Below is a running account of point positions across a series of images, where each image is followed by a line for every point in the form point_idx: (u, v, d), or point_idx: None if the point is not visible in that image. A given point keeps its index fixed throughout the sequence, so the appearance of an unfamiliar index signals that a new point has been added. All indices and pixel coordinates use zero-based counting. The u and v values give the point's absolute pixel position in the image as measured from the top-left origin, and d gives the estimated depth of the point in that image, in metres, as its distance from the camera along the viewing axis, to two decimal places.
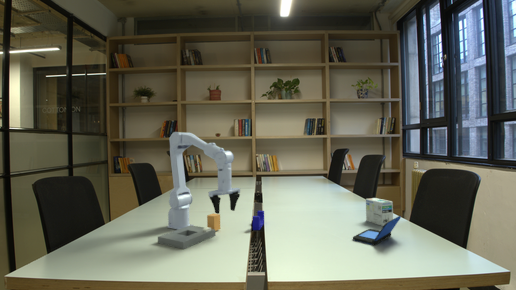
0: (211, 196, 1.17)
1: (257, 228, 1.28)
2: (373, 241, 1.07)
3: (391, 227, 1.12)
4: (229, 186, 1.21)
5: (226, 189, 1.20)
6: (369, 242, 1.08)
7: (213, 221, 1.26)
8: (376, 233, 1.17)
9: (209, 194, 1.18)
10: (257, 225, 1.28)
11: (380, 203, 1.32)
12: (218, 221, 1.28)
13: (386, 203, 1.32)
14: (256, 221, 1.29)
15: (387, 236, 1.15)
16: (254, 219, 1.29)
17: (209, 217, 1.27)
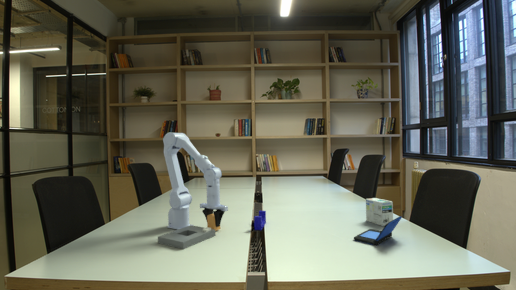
0: (200, 207, 1.31)
1: (259, 228, 1.28)
2: (374, 241, 1.07)
3: (392, 227, 1.12)
4: (210, 202, 1.26)
5: (207, 204, 1.27)
6: (370, 242, 1.08)
7: (213, 221, 1.26)
8: (377, 233, 1.16)
9: None
10: (259, 225, 1.28)
11: (380, 203, 1.32)
12: None
13: (386, 203, 1.32)
14: (258, 221, 1.28)
15: (388, 236, 1.15)
16: (256, 219, 1.29)
17: (209, 217, 1.27)
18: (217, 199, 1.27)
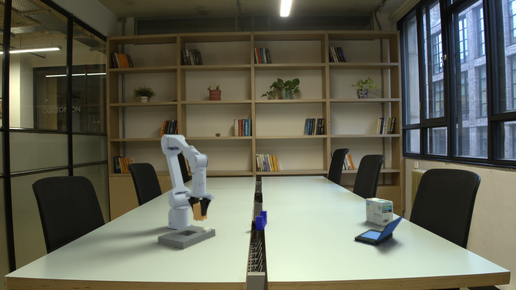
0: (185, 196, 1.25)
1: (260, 228, 1.28)
2: (375, 241, 1.06)
3: (393, 227, 1.12)
4: (195, 190, 1.20)
5: (193, 192, 1.21)
6: (371, 242, 1.08)
7: (199, 211, 1.20)
8: (378, 233, 1.16)
9: None
10: (260, 225, 1.28)
11: (380, 203, 1.32)
12: None
13: (386, 203, 1.32)
14: (259, 221, 1.28)
15: (389, 236, 1.14)
16: (257, 219, 1.29)
17: (195, 206, 1.22)
18: (203, 187, 1.21)
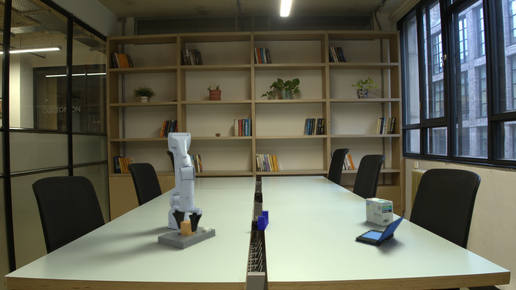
0: (173, 210, 1.21)
1: (262, 228, 1.28)
2: (376, 242, 1.06)
3: (394, 228, 1.12)
4: (182, 204, 1.15)
5: (180, 207, 1.16)
6: (372, 243, 1.07)
7: (186, 229, 1.16)
8: (379, 234, 1.16)
9: None
10: (262, 225, 1.28)
11: (380, 203, 1.32)
12: None
13: (386, 203, 1.32)
14: (261, 221, 1.28)
15: (390, 237, 1.14)
16: (259, 219, 1.29)
17: (182, 224, 1.17)
18: (190, 201, 1.16)
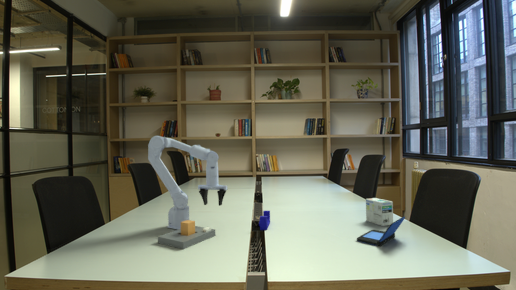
0: None
1: (264, 228, 1.28)
2: (378, 242, 1.06)
3: (395, 228, 1.11)
4: (211, 182, 1.35)
5: (208, 185, 1.36)
6: (374, 243, 1.07)
7: (186, 229, 1.16)
8: (380, 234, 1.16)
9: None
10: (264, 225, 1.28)
11: (380, 203, 1.32)
12: (193, 228, 1.18)
13: (386, 203, 1.32)
14: (263, 221, 1.28)
15: (391, 237, 1.14)
16: (261, 219, 1.29)
17: (182, 224, 1.17)
18: (217, 180, 1.37)
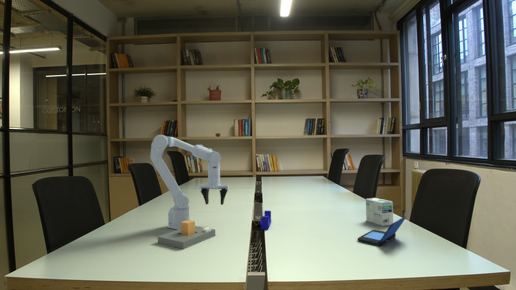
0: (199, 188, 1.40)
1: (266, 228, 1.28)
2: (378, 242, 1.06)
3: (396, 228, 1.11)
4: (213, 182, 1.37)
5: (210, 184, 1.37)
6: (374, 243, 1.07)
7: (186, 229, 1.16)
8: (381, 234, 1.15)
9: None
10: (266, 225, 1.28)
11: (380, 203, 1.32)
12: (193, 228, 1.18)
13: (386, 203, 1.32)
14: (265, 221, 1.28)
15: (392, 237, 1.14)
16: (263, 219, 1.29)
17: (182, 224, 1.17)
18: (219, 179, 1.39)
